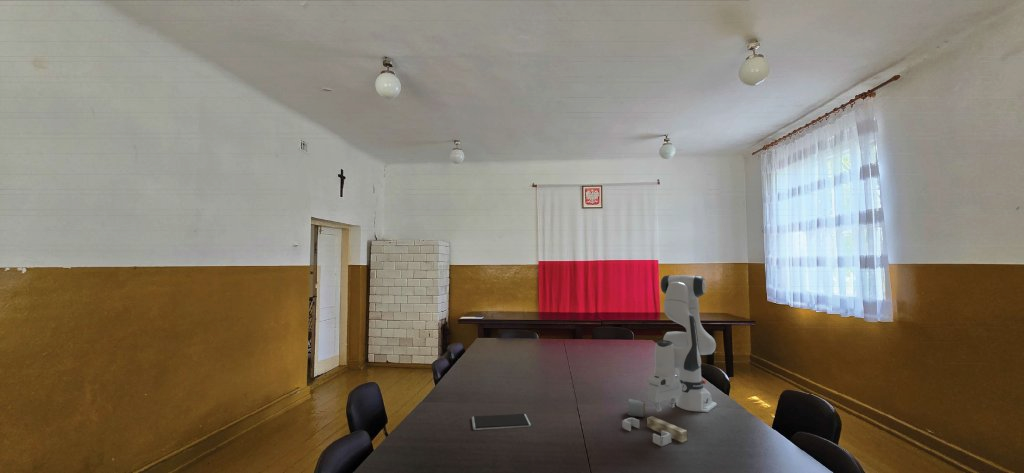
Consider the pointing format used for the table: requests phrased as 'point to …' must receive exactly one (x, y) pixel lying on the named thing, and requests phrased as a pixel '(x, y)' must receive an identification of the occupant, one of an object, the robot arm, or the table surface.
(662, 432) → the cap
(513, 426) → the smartphone
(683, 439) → the tan wooden beam
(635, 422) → the cap
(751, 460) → the table surface
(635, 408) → the ceramic mug
